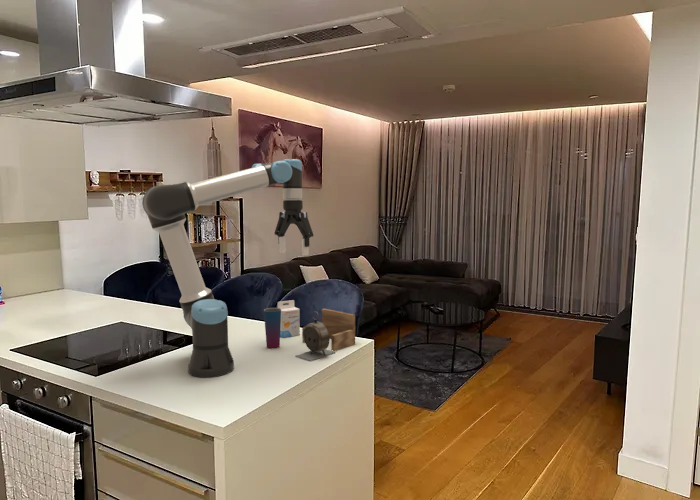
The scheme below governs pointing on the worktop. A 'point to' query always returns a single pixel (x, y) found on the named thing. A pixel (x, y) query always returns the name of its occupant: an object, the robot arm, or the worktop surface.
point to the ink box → (289, 319)
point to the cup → (272, 327)
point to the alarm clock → (316, 336)
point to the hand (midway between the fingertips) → (293, 254)
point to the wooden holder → (338, 328)
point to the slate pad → (314, 355)
